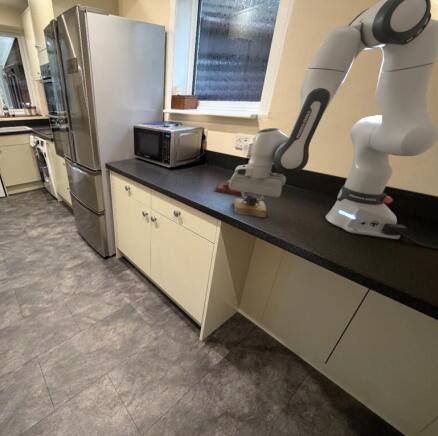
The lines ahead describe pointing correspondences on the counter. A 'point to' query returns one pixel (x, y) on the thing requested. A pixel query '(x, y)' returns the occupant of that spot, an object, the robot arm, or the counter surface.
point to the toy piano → (227, 189)
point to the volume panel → (250, 208)
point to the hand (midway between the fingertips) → (250, 202)
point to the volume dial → (251, 200)
